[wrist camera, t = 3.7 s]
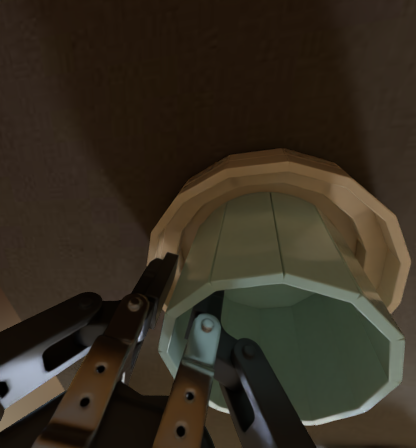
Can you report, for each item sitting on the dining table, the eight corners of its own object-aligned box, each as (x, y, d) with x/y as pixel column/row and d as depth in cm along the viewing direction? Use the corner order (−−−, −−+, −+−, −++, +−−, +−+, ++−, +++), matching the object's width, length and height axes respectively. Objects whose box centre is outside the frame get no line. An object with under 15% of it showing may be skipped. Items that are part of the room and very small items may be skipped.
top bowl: (184, 287, 20) (149, 390, 13) (212, 172, 15) (179, 242, 8) (302, 321, 20) (329, 444, 13) (370, 216, 15) (471, 325, 8)
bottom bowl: (154, 295, 22) (138, 328, 19) (182, 119, 14) (164, 127, 11) (317, 342, 22) (327, 384, 19) (433, 186, 14) (483, 213, 11)
